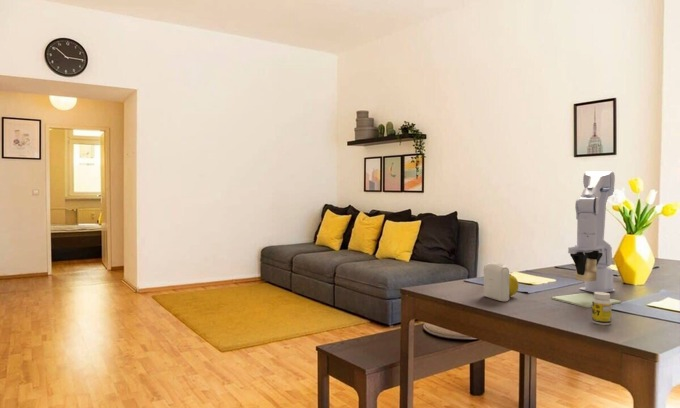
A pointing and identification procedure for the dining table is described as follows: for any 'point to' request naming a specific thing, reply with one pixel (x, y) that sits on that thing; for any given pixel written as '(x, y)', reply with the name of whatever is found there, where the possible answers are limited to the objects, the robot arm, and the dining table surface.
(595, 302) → the supplement bottle
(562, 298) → the felt mat
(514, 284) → the lemon
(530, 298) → the dining table surface
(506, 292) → the photo printer
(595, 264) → the birch block
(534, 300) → the dining table surface
